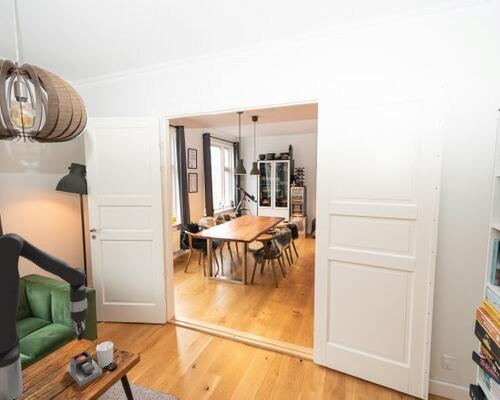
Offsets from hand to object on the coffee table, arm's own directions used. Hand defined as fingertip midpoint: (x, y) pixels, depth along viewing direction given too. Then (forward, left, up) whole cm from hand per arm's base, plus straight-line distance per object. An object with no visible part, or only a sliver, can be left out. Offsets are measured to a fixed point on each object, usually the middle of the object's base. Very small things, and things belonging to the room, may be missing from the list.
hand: (80, 339), depth 135 cm
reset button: (0, +1, -12) cm, 12 cm away
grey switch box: (0, -3, -17) cm, 17 cm away
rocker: (0, -8, -12) cm, 14 cm away
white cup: (+10, -5, -17) cm, 20 cm away
